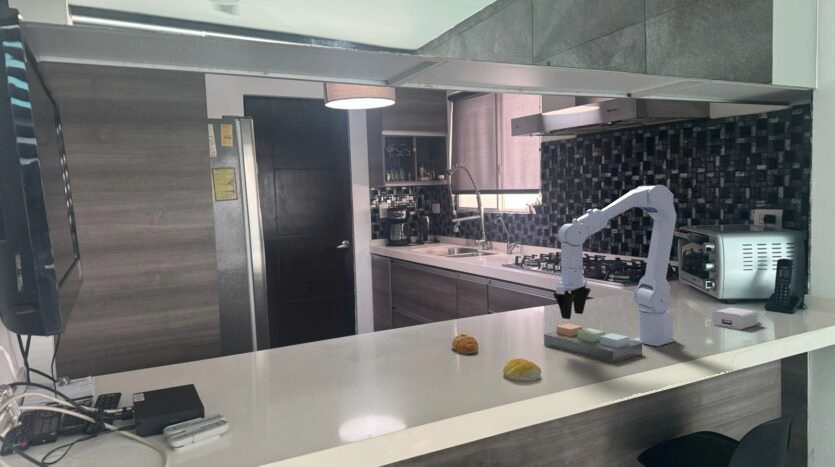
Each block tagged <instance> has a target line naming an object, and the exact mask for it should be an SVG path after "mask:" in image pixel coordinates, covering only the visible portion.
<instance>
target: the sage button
mask: <svg viewBox="0 0 835 467" xmlns="http://www.w3.org/2000/svg"><path fill="white" fill-rule="evenodd" d="M605 332H606V331H604V330H599V329H595V328H591V327H590V328H589V327H588V328H584V329H582V330H580V331H578V339H581V340H585V341H589V342H596V341H600V336H604V335H606V333H605Z"/></svg>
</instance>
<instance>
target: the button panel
mask: <svg viewBox="0 0 835 467" xmlns="http://www.w3.org/2000/svg"><path fill="white" fill-rule="evenodd" d="M543 338H544V339H543V342H544V346H547V347H551V348H552V347H553V348H555V349H559V350H562V351H567V352H570V353H574V354H578V355H581V356H585V357H589V358H592V359H596V360H600V361H604V362H607V363H611V364H615V363H618V362H623V361H626V360H628V359H632V358H636V357H639V356H641V355H643V343H640V342H636V341H632V340H630V339H629V345H627V346H623V347H620V348H614V347H610V346H606V345H602V344H600V341H596V342H589V341H585V340H581V339H578V335H576V336H572V337H569V336H565V335H561V334H557V330H556V331H552V332H548V333H544V334H543Z"/></svg>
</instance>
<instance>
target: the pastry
mask: <svg viewBox="0 0 835 467" xmlns="http://www.w3.org/2000/svg"><path fill="white" fill-rule="evenodd" d="M451 344H452V346H451V347H452V348H453V349H454V350H455V352H458V353H460V354H466V355H469V354H475V353H478V351H479V342H478V341H477V340H476V338H474V337H473V336H471V335H468V334H465V333H464V334H459V335H456V336H455V337H454V338H453V340H452V343H451Z"/></svg>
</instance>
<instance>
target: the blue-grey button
mask: <svg viewBox="0 0 835 467" xmlns="http://www.w3.org/2000/svg"><path fill="white" fill-rule="evenodd" d="M629 338H630V337H629V336H627V335H623V334H617V333H613V332H611V333H608V334H605V335H604V336H600V344H602V345H606V346H610V347H614V348H620V347H623V346H627V345H629V340H630V339H629Z"/></svg>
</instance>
